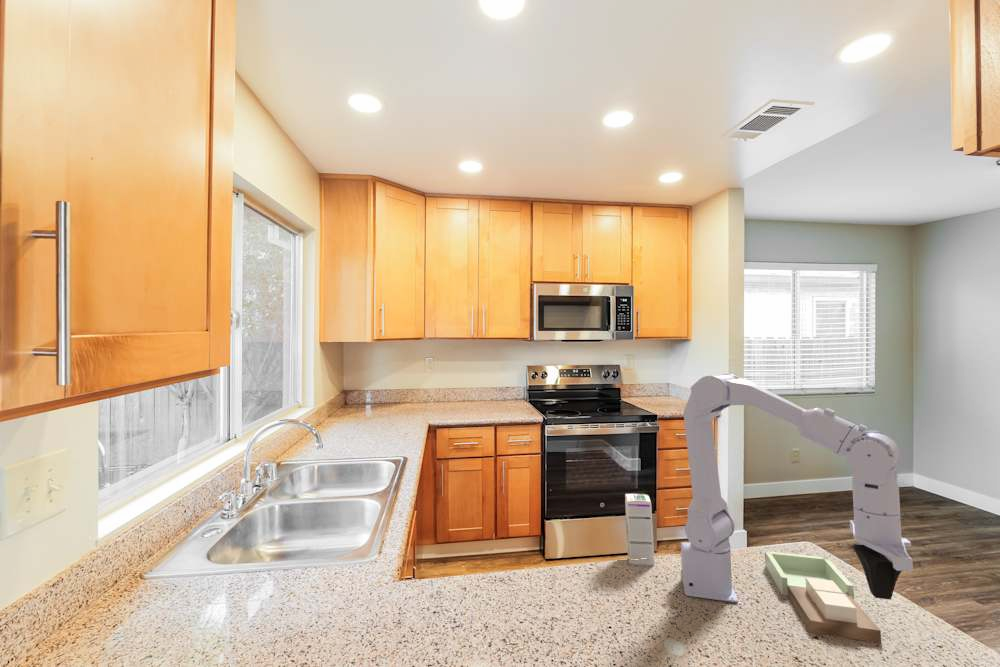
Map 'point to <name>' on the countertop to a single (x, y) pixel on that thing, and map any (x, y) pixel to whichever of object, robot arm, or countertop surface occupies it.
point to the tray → (803, 571)
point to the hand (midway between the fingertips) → (881, 596)
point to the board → (821, 625)
